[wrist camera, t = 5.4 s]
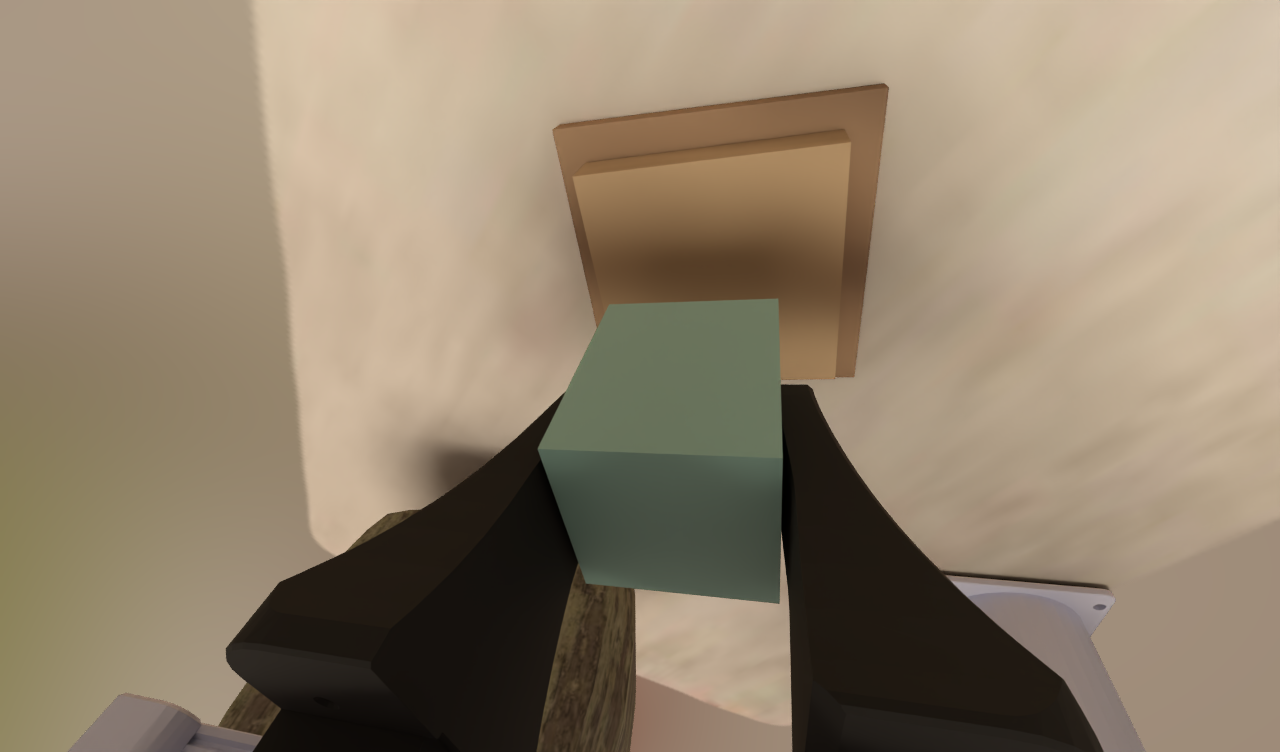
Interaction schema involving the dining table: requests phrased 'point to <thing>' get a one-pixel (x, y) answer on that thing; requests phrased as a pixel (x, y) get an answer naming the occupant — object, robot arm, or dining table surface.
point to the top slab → (729, 233)
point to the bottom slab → (747, 123)
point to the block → (675, 450)
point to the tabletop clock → (580, 678)
